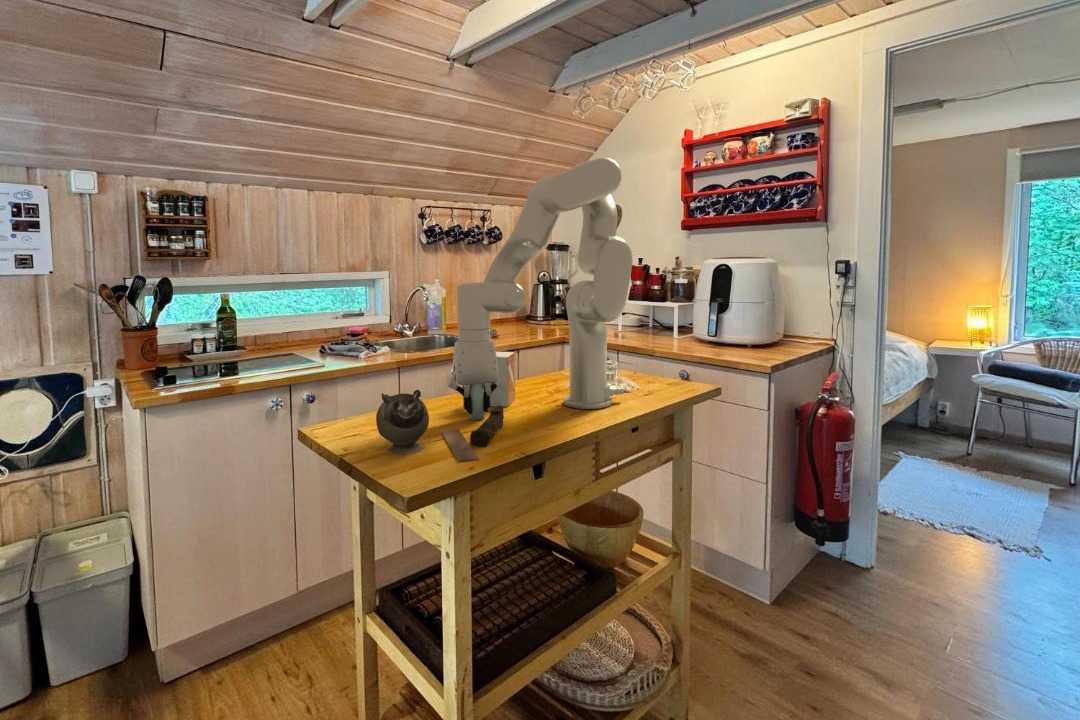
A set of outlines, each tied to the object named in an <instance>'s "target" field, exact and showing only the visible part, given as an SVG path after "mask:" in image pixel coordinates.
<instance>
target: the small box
mask: <svg viewBox="0 0 1080 720" xmlns="http://www.w3.org/2000/svg"><path fill="white" fill-rule="evenodd" d="M515 356H516V355H515V352H514V351H513V352H512V351H496V357H497V365H498V372H499V373H500V375H501V376H502V378H503V380H504V383H502V384H501V385H499V386H498V387H496V389H495V390H494V391H493V392H492V393H491V395H490V407H496V406H499V405H501V406H503V408H504V407H505V408H507V407H509V406H510V405H511V404H512V403H513V402H514V401H515V400H516V373H515V371H516V367H515V366H516V365H515V363H516V359H515ZM490 384H491V383H490Z"/></svg>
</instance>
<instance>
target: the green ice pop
mask: <svg viewBox="0 0 1080 720" xmlns="http://www.w3.org/2000/svg"><path fill="white" fill-rule="evenodd" d="M469 395H470V397H471V407H472V413H471V414H469V418H470V420H471V421H472V420H473V421H480V420H484V419H485V412H484V389H483V384H472V385H470V389H469Z"/></svg>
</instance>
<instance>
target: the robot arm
mask: <svg viewBox="0 0 1080 720" xmlns="http://www.w3.org/2000/svg"><path fill="white" fill-rule="evenodd" d="M621 182H622V169H621V168H620V166H619V164H618V163H617V162H616V160H614V159H612V158H610V157H598V158H594V159H591V160H586V161H583V162H580V163H577V164H575V165H574V166H573V167H572V168H570V169H568V170H566V171H562V172H560V173H556V174H552V175H549V176H544V177H542V178H539V179H538V180H537V181H535V183H534V184H533V185H532V187H531V188H530V191H529V194H528V196H527V197H526V201H525V203H524V205H523V207H522V210H521V212H520V214H519V216H518V219H517V220H516V223H515V226H514V228H513V230H512V232H511V234H510V236H509V237H508V238H507V240H506V241H505V242H504V244H503V245H502V247H501V248H500V250H499V252H498V253H497V254H496V256H495V257H494V259H493V260H492V262H491V264H490V267H489V268H488V271H487V273H486V275H485V278H484V279H483V281H482V282H480V281H478V282H477V281H474V282H473V281H470V282H469V281H468V282H467V281H466V282H462V283H459V284H458V285H457V287H456V307H457V310H456V311H457V328H458V329H457V334H458V341H455V342H454V347H453V356H452V357H453V358H452V360H453V361H452V375H451V377H450V378H449V379H448V380H449V381H448V382H447V386H448V388H449V389H452V390H454V391H457V392H458V393H459V394H460V395H461V396H462V397H463V398H462V399H463V409H464V410H463V411H466V413H467V414H468V415H470V414H471V413H472V407H471V397H470V395H469V389H470V385H472V384H483V391H484V413H489V408H491V406H490V395H491V393H492V392H493V391H494V390H495V389H496V387H498V386H499V385H501V384H502V383H504V380H503V378H502V376H501V375H500V373H499V372H498V365H497V357H496V352H497V351H496V347H495V345H496V344H495V342H494V340H493V339H492V338H493V337H494V336H497V334H498V332H497V329H492V327H491V313H497V314H514V313H516V312H518V311H519V310H521V309H522V308H523V306H524V305H525V302H526V292H525V290H524V289H523V287H522V286H521V285H520V284H519V283H518V282H516V280H517V278H518V276H519V275H520V273H521V271H522V270H523V269H524V268H525V267H526V265H528V263H529V262H531V261H533V259H535V258H536V257H538V256H539V255H540V254H541V253H542V252H543V251H544V250H545V248H546V246H547V244H548V242H549V239H550V238H551V235H552V233H553V230H554V228H555V226H556V223H557V221H558V218H559V217H560V214H561V213H565V212H570V211H573V210H576V209H578V208H581V210H582V228H581V234H580V240H579V246H578V253H577V266H578V267H579V270H580V271H581V272H583V273H584V274H586V275H589V276H593V280H589V279H587V280H580V281H578V282H576V283H574V284H573V285H572V286H571V287H570V288H569V289H568V291H567V294H566V299H565V307H566V314H567V319H568V329H569V330H568V331H569V333H568V335H569V343H568V344H569V350H568V351H569V355H568V356H569V395H567V396H565V397H564V398H563V404H564V405H565V406H567V407H570V408H574V409H582V410H595V409H596V410H598V409H603V408H607V407H610V406H611V405H612V404H613V398H612V397H613V396H614V395H617V396H618V395H623V394H624V393H625V390H624V387H623V386H618V387H615V386H610V385H608V384H607V378H608V377H607V376H608V374H607V373H608V372H607V371H608V370H607V366H608V365H607V362H608V361H607V355H608V354H607V353H608V352H607V351H608V349H607V348H608V336H607V335H608V333H607V327H606V323H611V322H613V321H616V320H617V319H618V318H619V317H620V316H621V315H622V313H623V312H624V309H625V306H626V302H627V299H628V293H629V288H630V283H631V281H630V280H631V275H632V268H633V253H632V249H631V247H630V245H629V244H628V242H627V241H626V240H625V239H624V238H621V237H619V236H617V228H618V209H617V206H616V202H615V200H614V198H613V197H612V195H611V194H613V193H614V192H616V190H618V188H619V186H620V184H621ZM490 383H491V384H490Z"/></svg>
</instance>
